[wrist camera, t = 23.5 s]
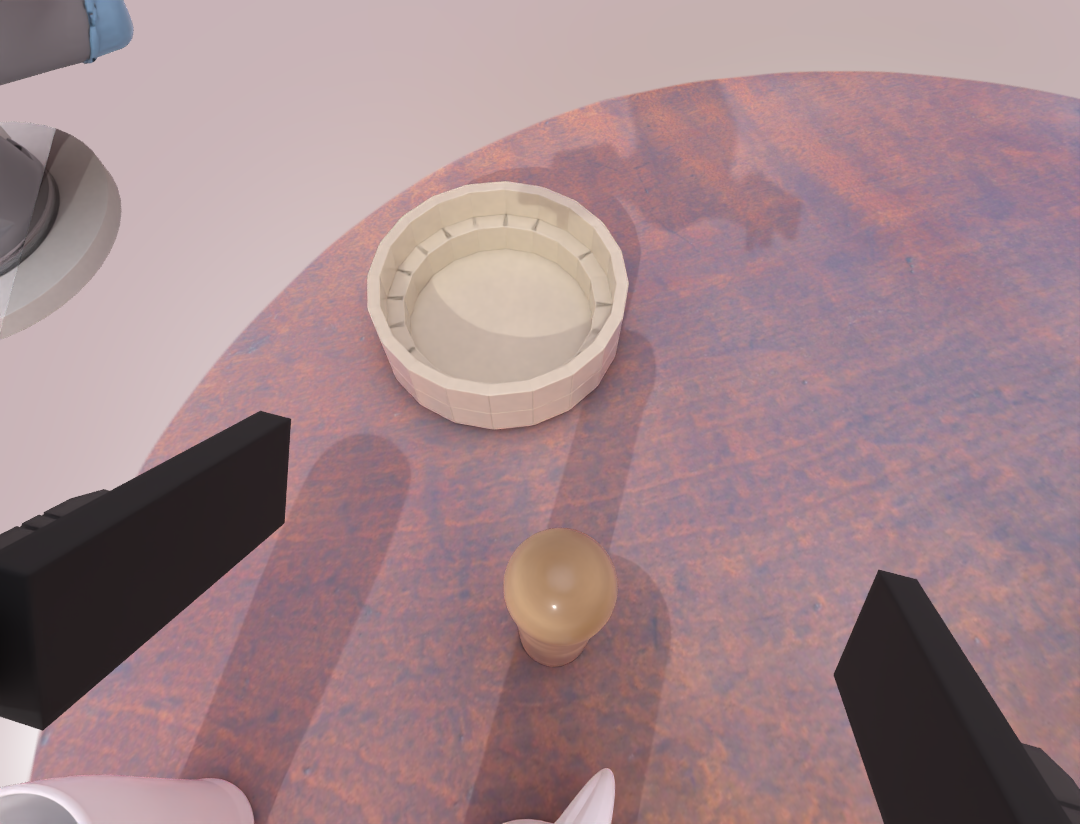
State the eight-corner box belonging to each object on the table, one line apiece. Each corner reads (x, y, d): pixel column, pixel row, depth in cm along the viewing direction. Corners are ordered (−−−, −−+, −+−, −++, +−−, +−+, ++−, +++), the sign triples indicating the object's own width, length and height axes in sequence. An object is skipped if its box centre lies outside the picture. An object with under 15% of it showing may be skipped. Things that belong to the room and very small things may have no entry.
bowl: (387, 445, 43) (368, 408, 38) (383, 245, 51) (366, 193, 46) (637, 418, 44) (649, 378, 39) (598, 225, 51) (604, 171, 46)
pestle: (518, 677, 37) (506, 646, 24) (510, 594, 39) (495, 520, 25) (599, 666, 38) (634, 630, 24) (586, 585, 40) (613, 507, 26)
